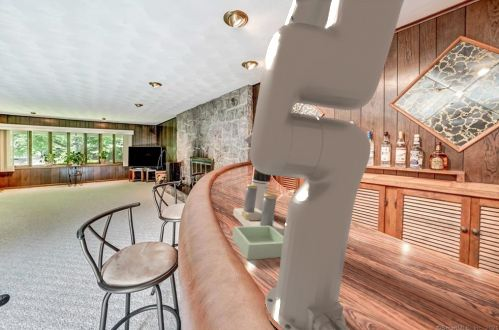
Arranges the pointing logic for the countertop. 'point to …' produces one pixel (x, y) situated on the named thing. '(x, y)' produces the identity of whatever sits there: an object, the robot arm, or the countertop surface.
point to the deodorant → (261, 176)
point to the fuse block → (256, 214)
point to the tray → (258, 241)
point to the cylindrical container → (260, 192)
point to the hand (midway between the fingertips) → (263, 164)
